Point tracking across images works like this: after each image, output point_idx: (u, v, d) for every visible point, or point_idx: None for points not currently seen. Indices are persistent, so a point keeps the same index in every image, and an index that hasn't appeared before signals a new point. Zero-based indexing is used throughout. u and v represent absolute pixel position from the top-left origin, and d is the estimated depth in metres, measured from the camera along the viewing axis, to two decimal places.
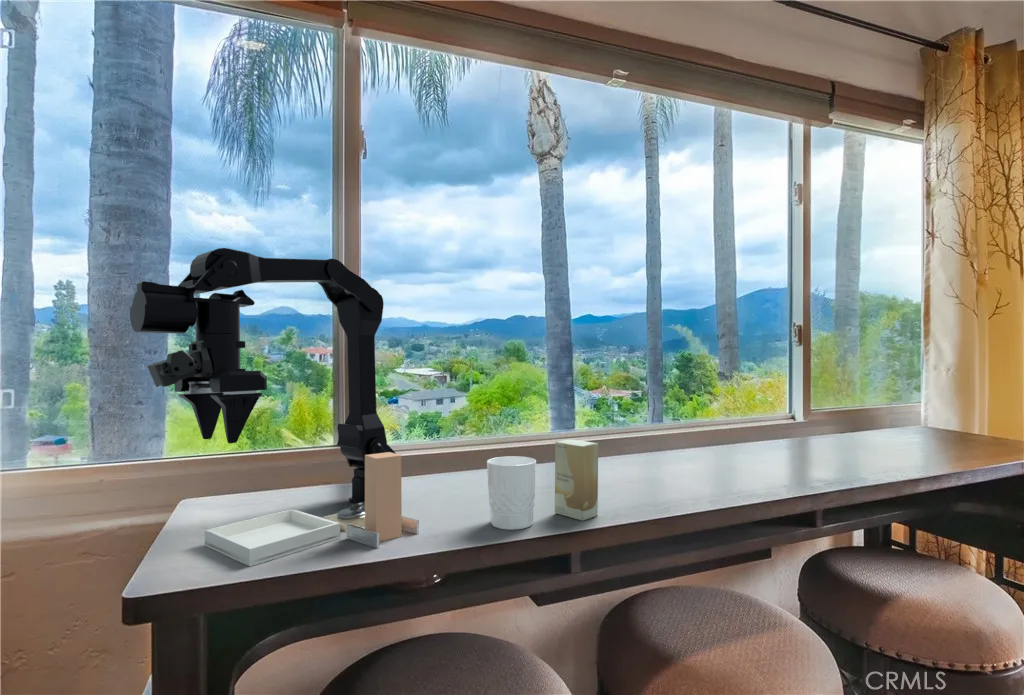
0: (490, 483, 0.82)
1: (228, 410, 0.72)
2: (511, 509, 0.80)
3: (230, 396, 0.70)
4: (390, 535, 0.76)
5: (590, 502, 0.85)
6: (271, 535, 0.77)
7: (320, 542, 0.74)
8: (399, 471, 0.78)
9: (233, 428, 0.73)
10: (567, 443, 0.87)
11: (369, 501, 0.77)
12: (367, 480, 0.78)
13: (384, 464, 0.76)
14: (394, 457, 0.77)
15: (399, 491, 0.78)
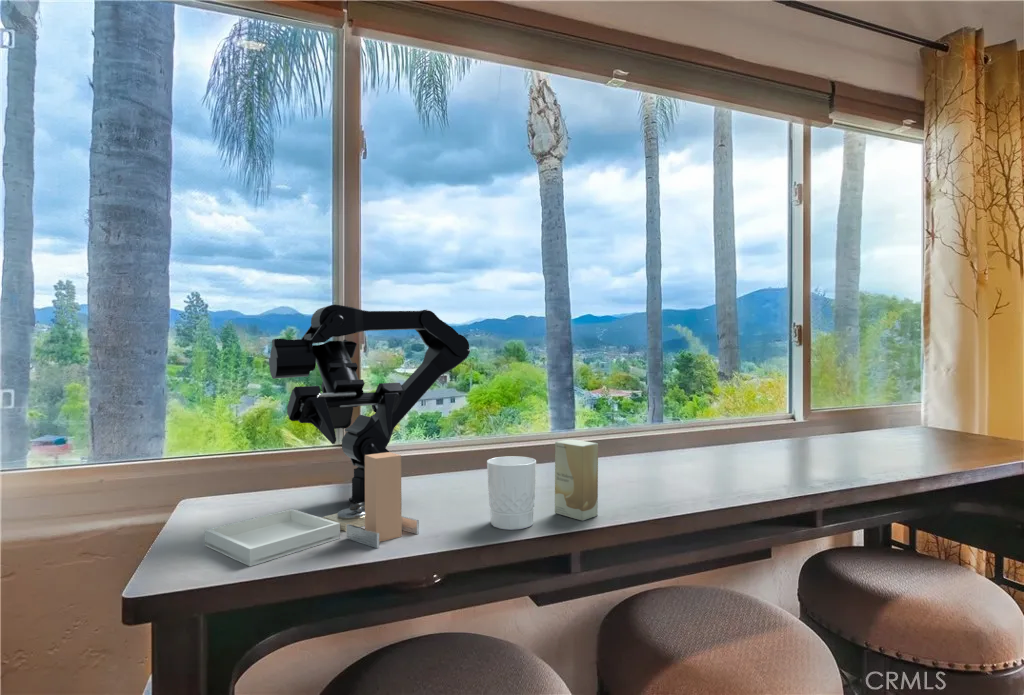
0: (490, 483, 0.82)
1: (315, 424, 0.83)
2: (511, 509, 0.80)
3: (300, 417, 0.84)
4: (390, 535, 0.76)
5: (590, 502, 0.85)
6: (271, 535, 0.77)
7: (320, 542, 0.74)
8: (399, 471, 0.78)
9: (325, 432, 0.82)
10: (567, 443, 0.87)
11: (369, 501, 0.77)
12: (367, 480, 0.78)
13: (384, 464, 0.76)
14: (394, 457, 0.77)
15: (399, 491, 0.78)
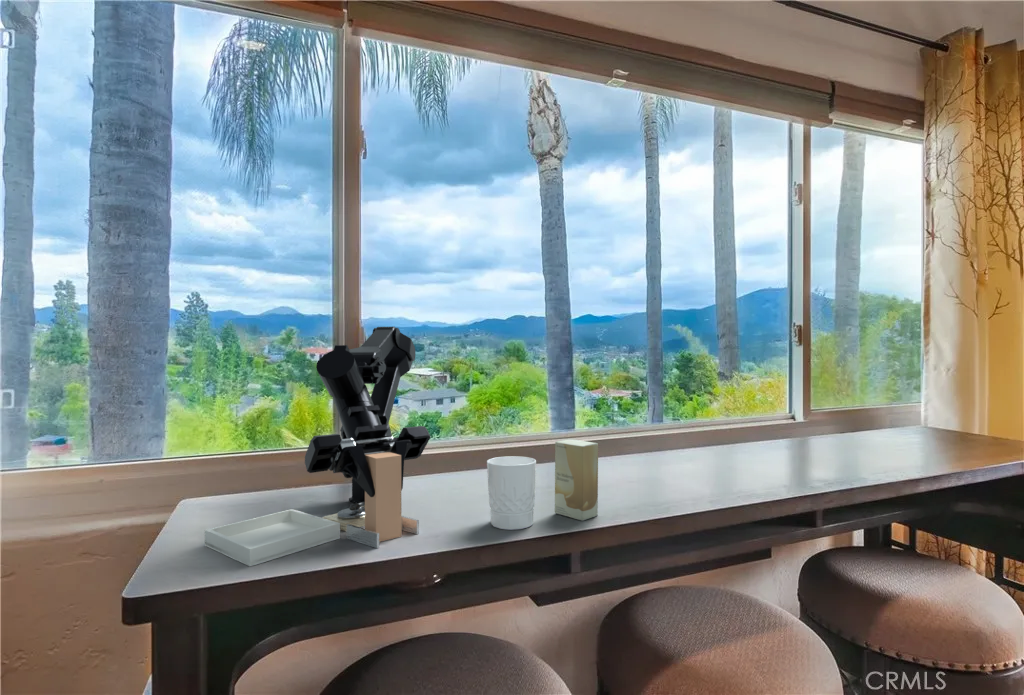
0: (490, 483, 0.82)
1: (351, 474, 0.78)
2: (511, 509, 0.80)
3: (335, 467, 0.78)
4: (390, 535, 0.76)
5: (590, 502, 0.85)
6: (271, 535, 0.77)
7: (320, 542, 0.74)
8: (399, 471, 0.78)
9: (363, 484, 0.76)
10: (567, 443, 0.87)
11: (369, 501, 0.77)
12: None
13: (384, 464, 0.76)
14: (394, 457, 0.77)
15: (399, 491, 0.77)
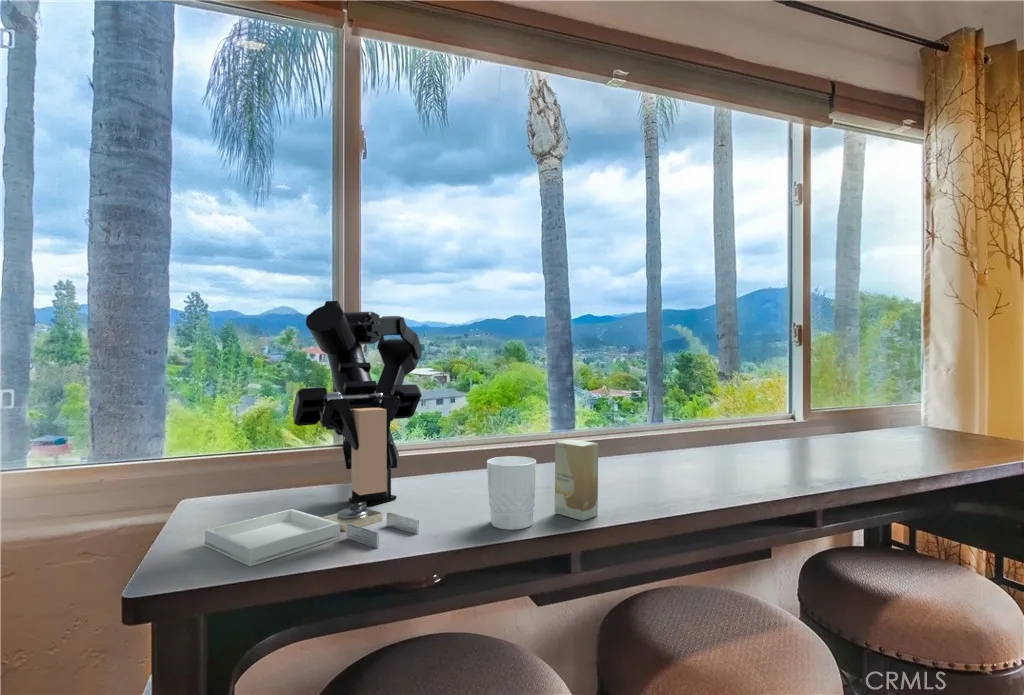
0: (490, 483, 0.82)
1: (338, 428, 0.78)
2: (511, 509, 0.80)
3: (322, 420, 0.78)
4: (374, 489, 0.76)
5: (590, 502, 0.85)
6: (271, 535, 0.77)
7: (320, 542, 0.74)
8: (384, 425, 0.77)
9: (348, 437, 0.76)
10: (567, 443, 0.87)
11: (354, 455, 0.76)
12: None
13: (368, 417, 0.75)
14: (379, 410, 0.76)
15: (384, 445, 0.77)
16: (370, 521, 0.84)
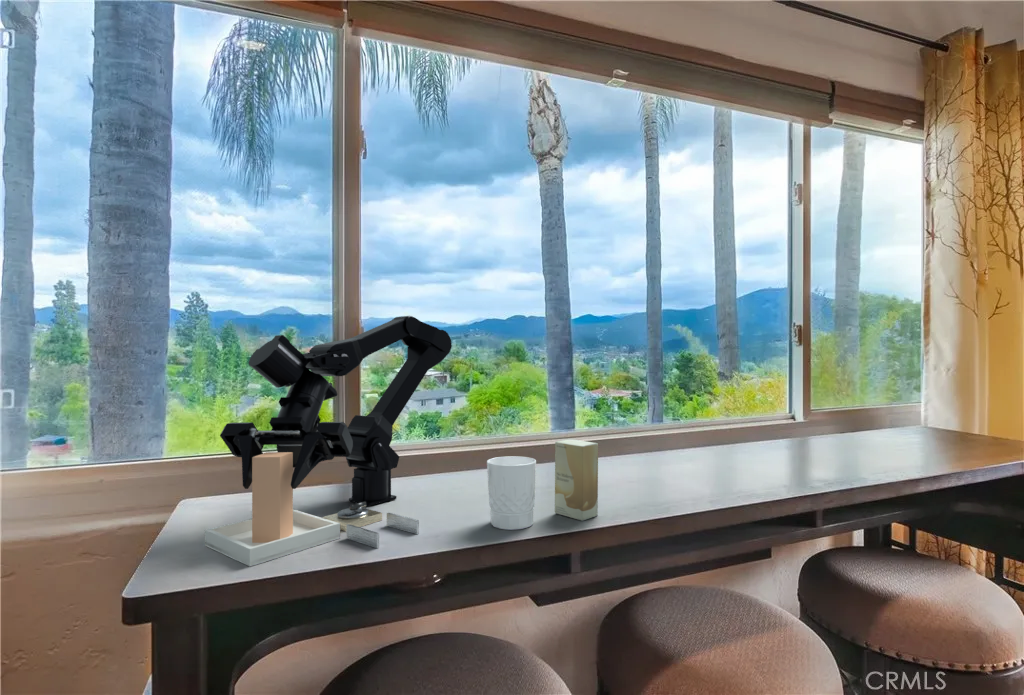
0: (490, 483, 0.82)
1: None
2: (511, 509, 0.80)
3: None
4: (267, 538, 0.74)
5: (590, 502, 0.85)
6: None
7: (320, 542, 0.74)
8: (278, 473, 0.74)
9: None
10: (567, 443, 0.87)
11: None
12: None
13: (261, 464, 0.74)
14: (272, 458, 0.74)
15: (278, 494, 0.74)
16: (370, 521, 0.84)
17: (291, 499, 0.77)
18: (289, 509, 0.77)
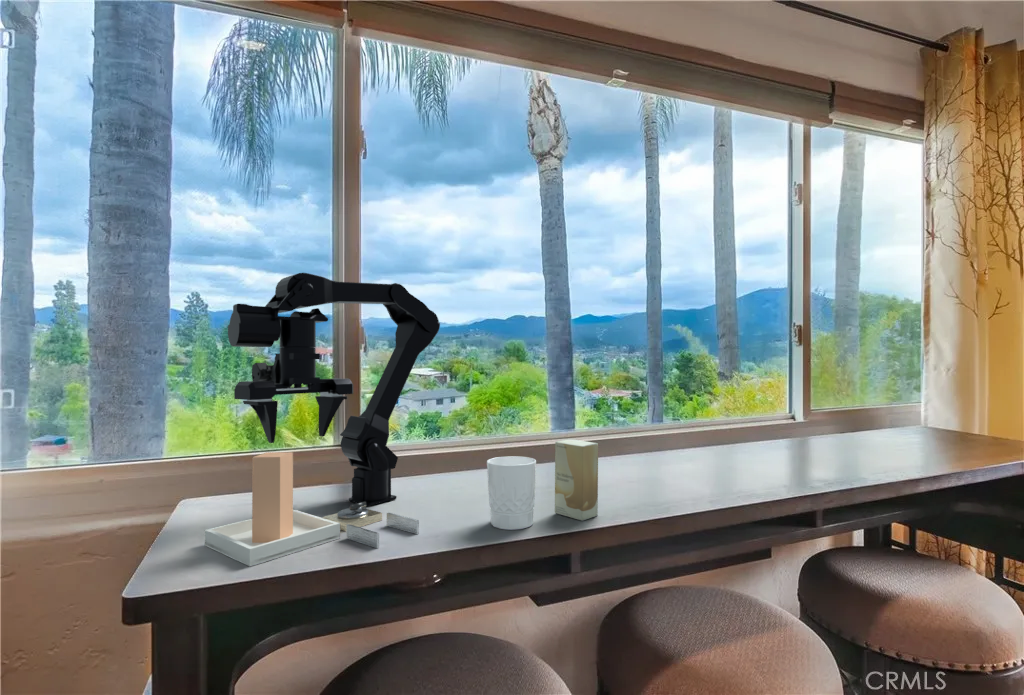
0: (490, 483, 0.82)
1: (258, 414, 0.85)
2: (511, 509, 0.80)
3: (245, 402, 0.83)
4: (267, 538, 0.74)
5: (590, 502, 0.85)
6: None
7: (320, 542, 0.74)
8: (278, 473, 0.74)
9: (266, 430, 0.85)
10: (567, 443, 0.87)
11: None
12: None
13: (261, 464, 0.74)
14: (272, 458, 0.74)
15: (278, 494, 0.74)
16: (370, 521, 0.84)
17: (291, 499, 0.77)
18: (289, 509, 0.77)
